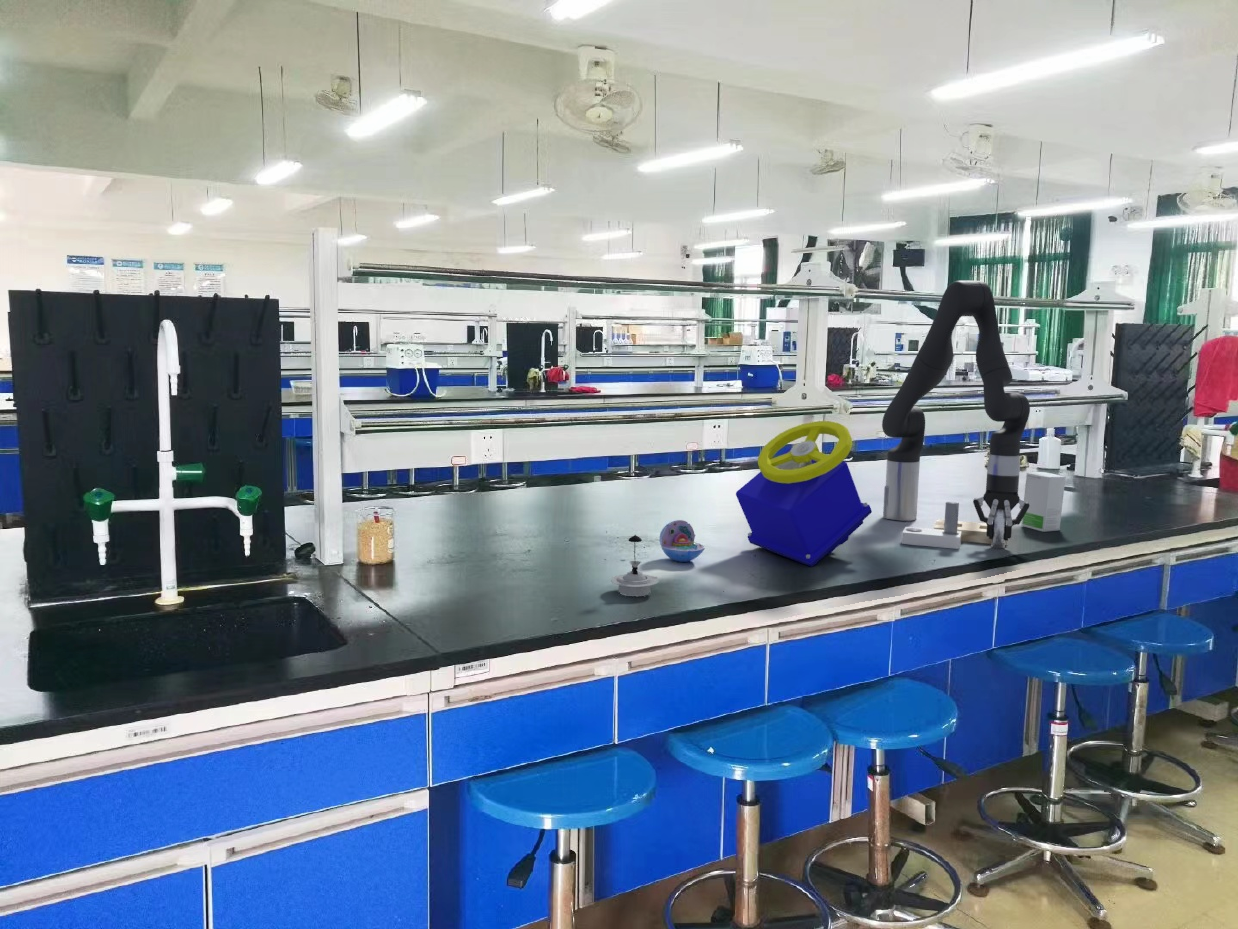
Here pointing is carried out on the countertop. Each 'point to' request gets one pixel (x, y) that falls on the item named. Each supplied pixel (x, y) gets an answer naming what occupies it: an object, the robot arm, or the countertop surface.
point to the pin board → (969, 531)
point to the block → (937, 531)
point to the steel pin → (999, 529)
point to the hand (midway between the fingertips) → (998, 538)
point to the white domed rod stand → (634, 578)
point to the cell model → (680, 541)
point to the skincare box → (1043, 501)
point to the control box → (803, 495)
